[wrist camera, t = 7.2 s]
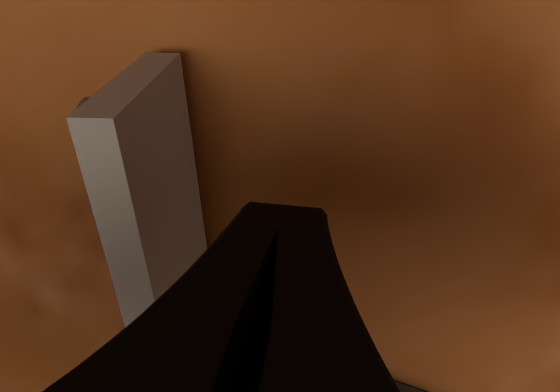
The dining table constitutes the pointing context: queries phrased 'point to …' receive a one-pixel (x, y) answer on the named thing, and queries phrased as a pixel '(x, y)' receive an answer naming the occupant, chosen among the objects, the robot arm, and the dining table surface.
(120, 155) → the side door
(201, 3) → the dining table surface
